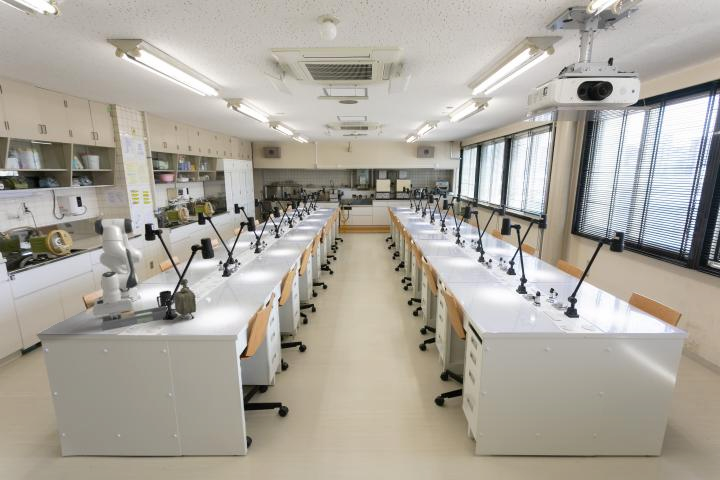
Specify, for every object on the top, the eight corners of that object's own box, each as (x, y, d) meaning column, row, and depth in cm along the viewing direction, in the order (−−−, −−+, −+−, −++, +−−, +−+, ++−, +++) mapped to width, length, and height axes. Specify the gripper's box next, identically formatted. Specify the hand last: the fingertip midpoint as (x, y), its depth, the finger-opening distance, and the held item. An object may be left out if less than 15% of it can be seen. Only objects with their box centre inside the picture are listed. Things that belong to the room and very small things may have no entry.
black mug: (167, 305, 242) (166, 290, 240) (174, 307, 239) (173, 291, 237) (154, 310, 232) (152, 294, 230) (161, 312, 230) (160, 295, 228)
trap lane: (103, 324, 209) (102, 317, 208) (167, 312, 229) (166, 305, 228) (102, 330, 201) (101, 322, 200) (168, 317, 221) (168, 310, 220)
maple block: (121, 318, 212) (120, 311, 211) (134, 315, 216) (133, 309, 215) (121, 320, 208) (120, 314, 207) (134, 318, 212) (134, 311, 211)
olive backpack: (196, 318, 220) (194, 282, 215) (182, 322, 213) (178, 285, 209) (189, 312, 230) (186, 277, 226) (175, 316, 224) (172, 280, 219)
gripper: (132, 293, 214) (134, 313, 216) (91, 299, 202) (94, 321, 204) (132, 296, 209) (134, 317, 211) (91, 302, 197) (94, 324, 199)
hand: (114, 319), depth 208 cm, fingers closed
